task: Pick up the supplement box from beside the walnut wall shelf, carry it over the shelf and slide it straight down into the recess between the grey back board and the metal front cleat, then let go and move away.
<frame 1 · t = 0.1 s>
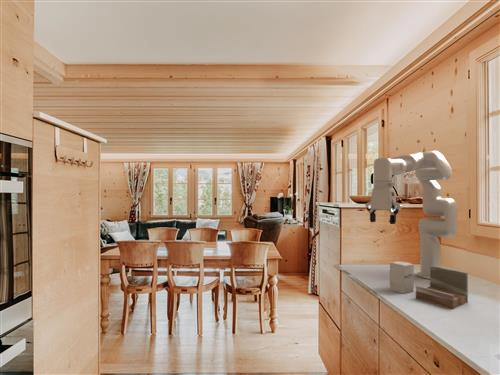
hand: (382, 222, 138), 31 cm above the worktop, tool pointing down, fingers open, 9 cm apart
supplement box: (401, 291, 140), on the worktop
wall shelf: (441, 300, 127), on the worktop
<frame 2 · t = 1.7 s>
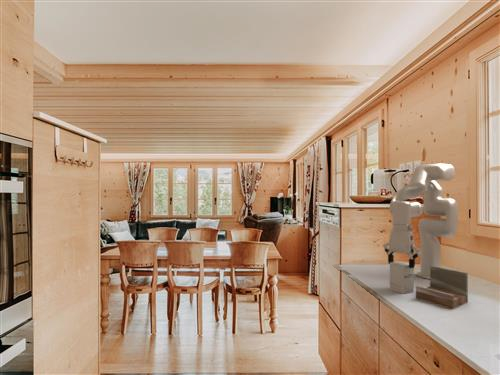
hand: (400, 265, 139), 11 cm above the worktop, tool pointing down, fingers open, 9 cm apart
nothing on the worktop moved.
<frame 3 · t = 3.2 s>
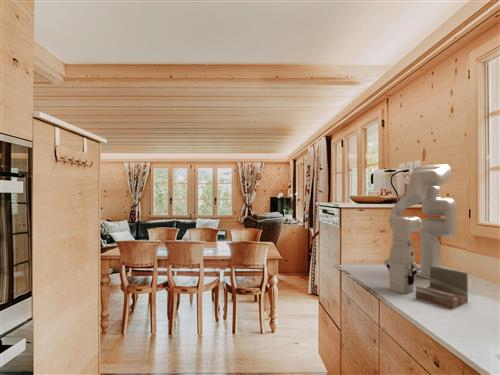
hand: (401, 281, 140), 4 cm above the worktop, tool pointing down, fingers closed on supplement box, 7 cm apart
supplement box: (401, 290, 140), on the worktop, touching gripper
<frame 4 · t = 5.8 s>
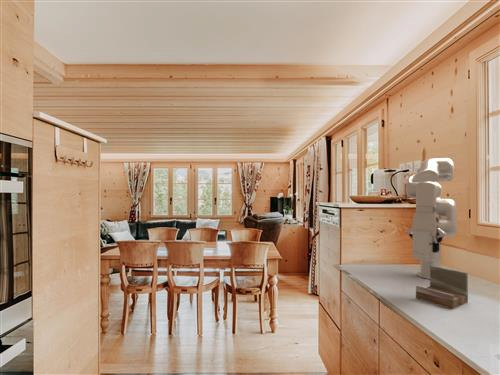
hand: (425, 250, 132), 20 cm above the worktop, tool pointing down, fingers closed on supplement box, 7 cm apart
supplement box: (425, 259, 132), point 16 cm above the worktop, touching gripper
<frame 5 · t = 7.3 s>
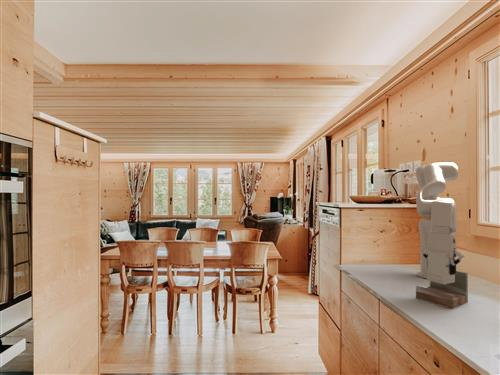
hand: (441, 271, 128), 12 cm above the worktop, tool pointing down, fingers closed on supplement box, 7 cm apart
supplement box: (441, 281, 128), point 8 cm above the worktop, touching gripper
when the fingers open (8 cm above the worktop, at t = 8.6 s): supplement box drops 1 cm, resting on wall shelf.
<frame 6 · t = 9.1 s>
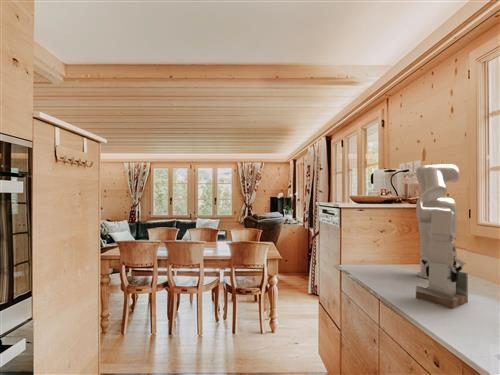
hand: (441, 278, 128), 9 cm above the worktop, tool pointing down, fingers open, 9 cm apart
supplement box: (442, 293, 127), point 3 cm above the worktop, touching wall shelf
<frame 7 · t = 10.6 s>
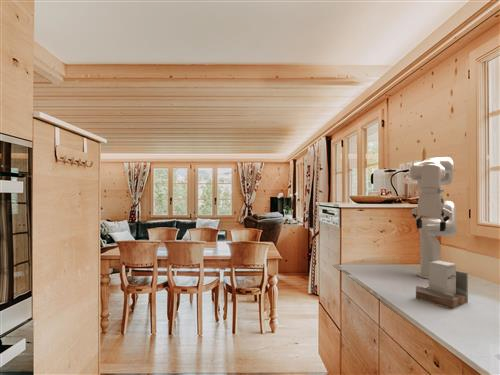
hand: (430, 229, 137), 28 cm above the worktop, tool pointing down, fingers open, 9 cm apart
nothing on the worktop moved.
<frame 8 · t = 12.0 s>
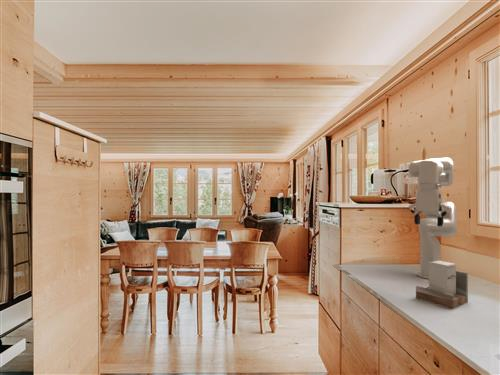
hand: (428, 225, 138), 30 cm above the worktop, tool pointing down, fingers open, 9 cm apart
nothing on the worktop moved.
at the end: supplement box inside the target area on the wall shelf (0.4 cm from its centre), point 2.8 cm above the wall shelf's base; supplement box tilted 0°; the gripper is holding nothing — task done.
